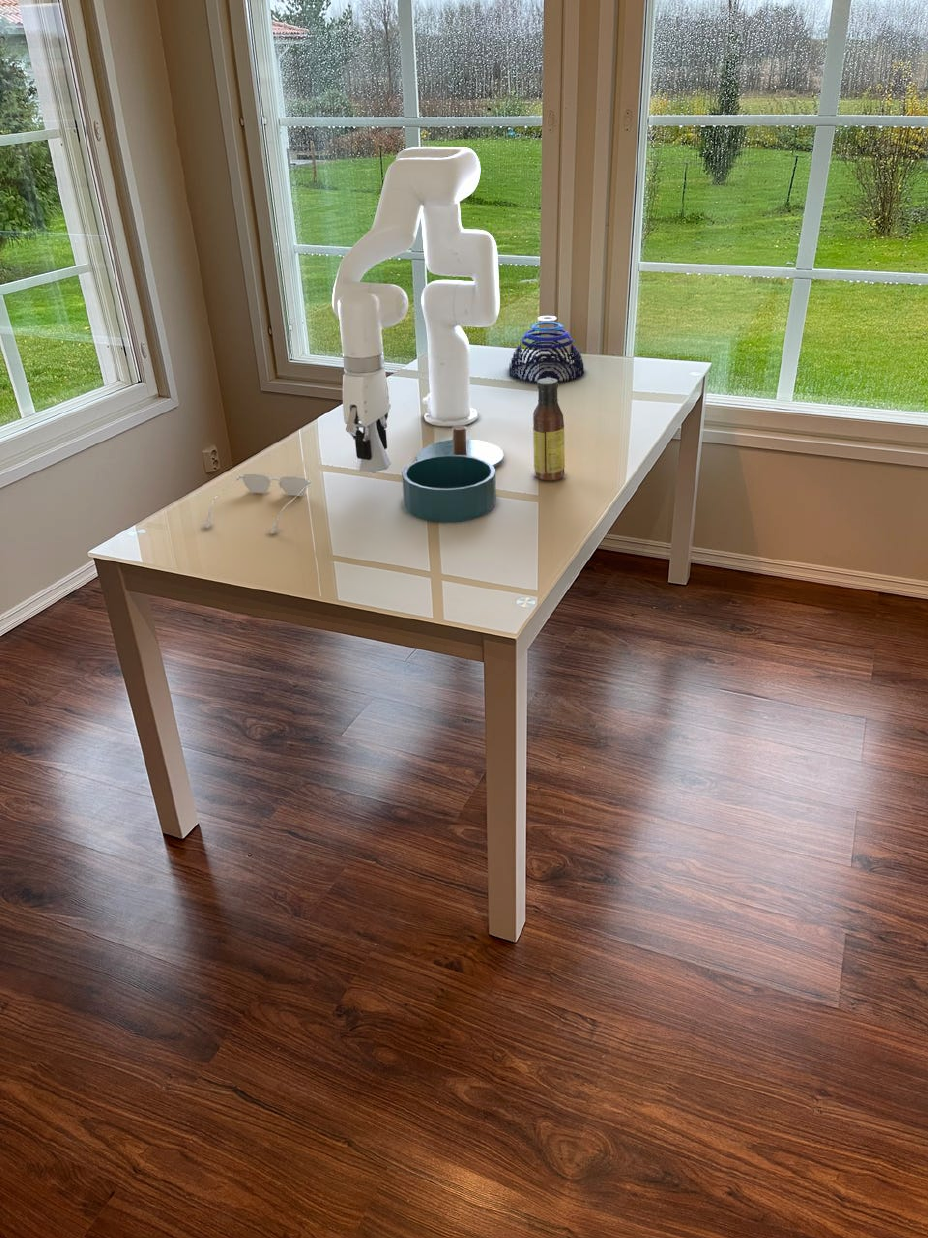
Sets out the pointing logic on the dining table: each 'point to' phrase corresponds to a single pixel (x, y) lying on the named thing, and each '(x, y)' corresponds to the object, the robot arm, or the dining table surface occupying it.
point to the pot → (449, 488)
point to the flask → (374, 454)
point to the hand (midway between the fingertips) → (372, 452)
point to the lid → (463, 448)
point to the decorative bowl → (552, 374)
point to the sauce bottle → (548, 432)
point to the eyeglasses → (262, 483)
